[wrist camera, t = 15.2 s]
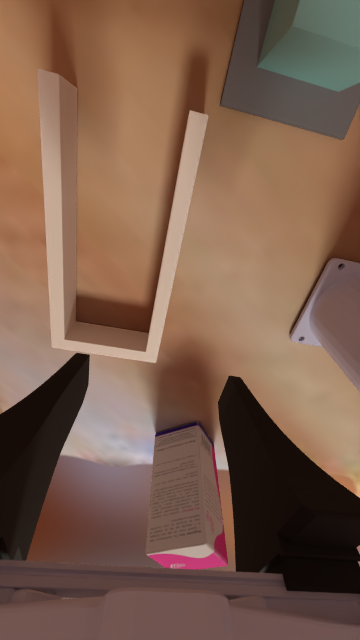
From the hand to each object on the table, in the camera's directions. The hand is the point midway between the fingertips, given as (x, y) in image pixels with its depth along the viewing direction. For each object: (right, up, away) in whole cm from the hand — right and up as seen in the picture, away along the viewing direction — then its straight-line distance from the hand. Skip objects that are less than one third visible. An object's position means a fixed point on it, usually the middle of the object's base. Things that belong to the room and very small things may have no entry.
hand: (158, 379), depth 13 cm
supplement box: (+2, -12, +19) cm, 22 cm away
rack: (-3, +9, +6) cm, 11 cm away
